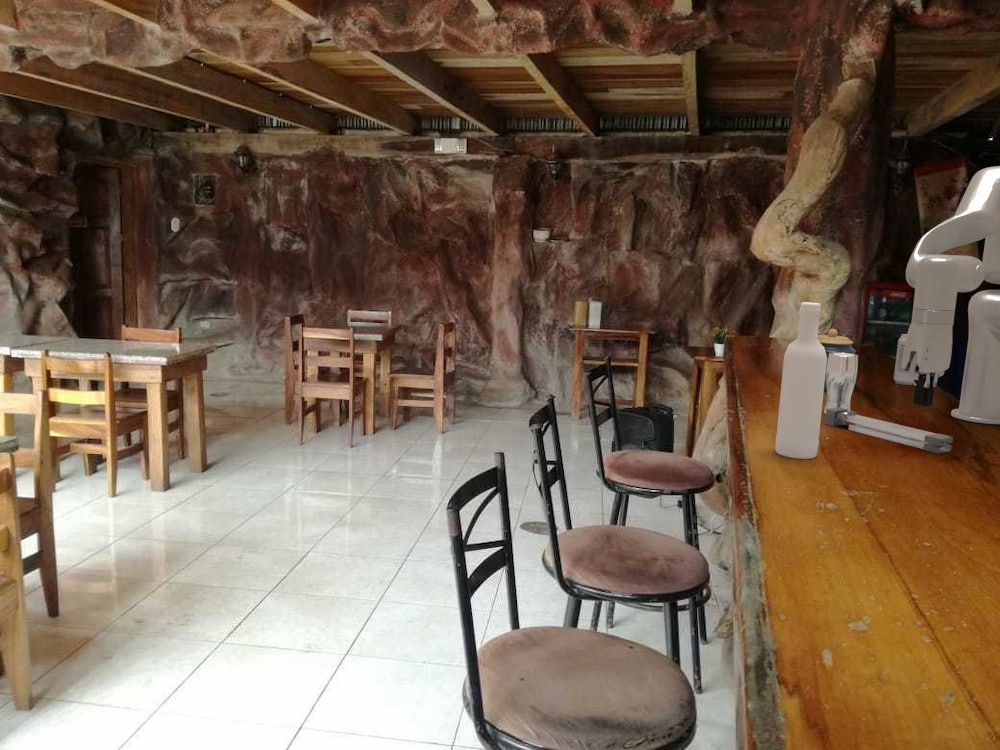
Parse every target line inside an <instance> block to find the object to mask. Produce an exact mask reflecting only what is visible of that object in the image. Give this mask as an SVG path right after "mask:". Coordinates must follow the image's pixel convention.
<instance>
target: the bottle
mask: <svg viewBox="0 0 1000 750" xmlns="http://www.w3.org/2000/svg"><path fill="white" fill-rule="evenodd" d="M799 306H800V307H799V309H798V312H799V317H798V328H797V336H796V337H797V338H795V339H794V340H793V341H792V342H791V343H789V344H788V346H787V348H786V350H785V353H784V354H783V362H782V363H783V364H782V374H781V386H780V398H779V406H778V415H777V416H778V417H777V429H776V435H775V453H777V454H778V455H780V456H783V457H786V458H791V459H796V460H797V459H798V460H799V459H800V460H810V459H814V458H817V456H818V449H819V445H820V443H819V442H820V441H819V439H820V438H819V437H820V431H821V420H822V412H823V401H824V393H825V392H824V383H825V373H826V364H827V356H826V352H825V348H824V347H823V346H822V344H821V343H820V342H819V341H818V340H817V337H818V335H819V326H820V316H821V315H820V314H821V312H822V310H821V303H820V302H812V301H811V302H809V301H802V302H801V303H800V305H799Z"/></svg>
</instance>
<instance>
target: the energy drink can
mask: <svg viewBox="0 0 1000 750" xmlns="http://www.w3.org/2000/svg"><path fill="white" fill-rule="evenodd" d="M906 337H907V333H902V334H900V337H899V339H898V340H897V349H896V357H895V366H894V371H893V372H894V373H893V381H895V384H898V385H906V386H912V385H913V386H914V380H913V379H909V378H908V373H909V371H904V370H903V369H902V358H903V352H904V346H905V341H906Z"/></svg>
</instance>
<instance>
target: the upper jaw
mask: <svg viewBox="0 0 1000 750" xmlns="http://www.w3.org/2000/svg"><path fill="white" fill-rule="evenodd" d="M836 419H837V421H838V422H839V423H845V422H846V423H851V424H859V425H863V426H867V427H871V428H875V429H879V430H883V431H887V432H891V433H895V434H899V435H903V436H907V437H911V438H915V439H919V440H923V441H924V442H928V443H932V444H936V445H942V444H951V443H953V441H954V436H952V435H946V434H942V433H935V432H930V431H927V430H922V429H918V428H915V427H910V426H906V425H901V424H898V423H894V422H889V421H886V420H885V421H884V420H881V419H878V418H877V419H876V418H873V417H868V416H864V415H860V414H858V412H856V411H855V410H850V411H848V412H840V413H838V414H837V415H836Z"/></svg>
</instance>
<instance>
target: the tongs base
mask: <svg viewBox="0 0 1000 750" xmlns="http://www.w3.org/2000/svg"><path fill="white" fill-rule="evenodd" d="M840 412H848V409H843V408H839V407H838V408H830V409H826V414H825V419H824V424H825V425H827V426H832V427H837V426H839V427H840V426H845V425H847V422H845V423H839V422H838V421H837V419H836V415H837V414H838V413H840ZM848 431H852V432H856V433H860V434H864V435H867V436H872V437H875V438H879V439H882V440H887V441H890V442H894V443H898V444H902V445H906V446H909V447H913V448H917V449H921V450H923V451H927V452H929V453H933V454H934V453H935V454H942V453H947V452H951V451H952V449H953V448H952V447H953V445H952V444H949V443H947V444H942V445H936V444H932V443H928V442H924V441H923V440H919V439H915V438H911V437H907V436H903V435H899V434H895V433H891V432H887V431H883V430H879V429H875V428H871V427H867V426H863V425H859V424H855V423H851V424H848Z"/></svg>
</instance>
